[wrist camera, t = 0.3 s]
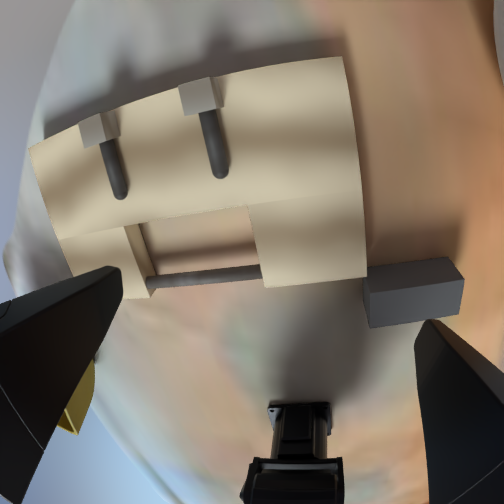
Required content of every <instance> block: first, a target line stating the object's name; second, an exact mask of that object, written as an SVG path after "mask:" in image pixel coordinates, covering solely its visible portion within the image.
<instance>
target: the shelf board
mask: <svg viewBox="0 0 504 504" xmlns="http://www.w3.org/2000/svg"><path fill="white" fill-rule="evenodd" d="M177 86H178V87H177V88H174V89H171V90H167V91H164V92H161V93H158V94H155V95H152V96H149V97H146V98H143V99H140V100H137V101H134V102H132V103H129V104H126V105H123V106H121V107H118V108H115V109H113V110H110V111H108V112H102V113H98V114H96V115H93V116H91V117H89V118H86V119H84V120H82V121H79V122H78V124H77V125H75V126H72V127H70V128H68V129H66V130H64V131H62V132H60V133H57V134H55V135H53V136H51V137H49V138H47V139H45V140H43V141H41V142H39V143H37V144H36V145H34V146H32V147H30V148H28V150H29V154H30V157H31V161H32V164H33V168H34V171H35V175H36V178H37V181H38V185H39V188H40V191H41V194H42V197H43V200H44V203H45V206H46V209H47V212H48V215H49V217H50V220H51V223H52V226H53V228H54V231H55V233H56V236H57V239H58V241H59V244H60V246H61V249H62V251H63V253H64V256H65V258H66V261H67V263H68V265H69V268H70V270H71V272H72V274H73V277H75V276H78V275H81V274H84V273H86V272H89V271H92V270H95V269H98V268H101V267H104V266H107V265H109V266H114V267H118V268H120V270H121V273H122V282H123V298H122V299H136V298H150V297H151V296H152V294H153V293H154V291H155V290H156V288H168V287H179V286H191V285H202V284H212V283H223V282H233V281H243V280H253V279H263V281H264V286H265V288H271V287H281V286H290V285H300V284H309V283H318V282H327V281H335V280H344V279H352V278H360V277H367V260H366V238H365V222H364V208H363V196H362V185H361V175H360V166H359V157H358V149H357V142H356V134H355V127H354V120H353V114H352V108H351V102H350V96H349V90H348V84H347V79H346V74H345V69H344V64H343V59H342V56H338V57H327V58H318V59H310V60H302V61H295V62H289V63H282V64H276V65H270V66H265V67H259V68H254V69H249V70H244V71H240V72H235V73H231V74H226V75H222V76H218V77H210V76H209V77H205V78H202V79H198V80H194V81H191V82H187V83H184V84H180V85H177ZM245 205H247V207H248V211H249V216H250V221H251V225H252V230H253V234H254V239H255V244H256V248H257V253H258V258H259V262H260V264H257V265H248V266H239V267H230V268H221V269H211V270H202V271H193V272H183V273H174V274H164V275H156V274H155V271H154V268H153V265H152V263H151V260H150V257H149V254H148V251H147V248H146V246H145V243H144V240H143V237H142V234H141V231H140V228H139V225H138V224H139V223H144V222H150V221H155V220H161V219H166V218H172V217H178V216H183V215H189V214H195V213H201V212H207V211H213V210H219V209H226V208H232V207H238V206H245Z"/></svg>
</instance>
